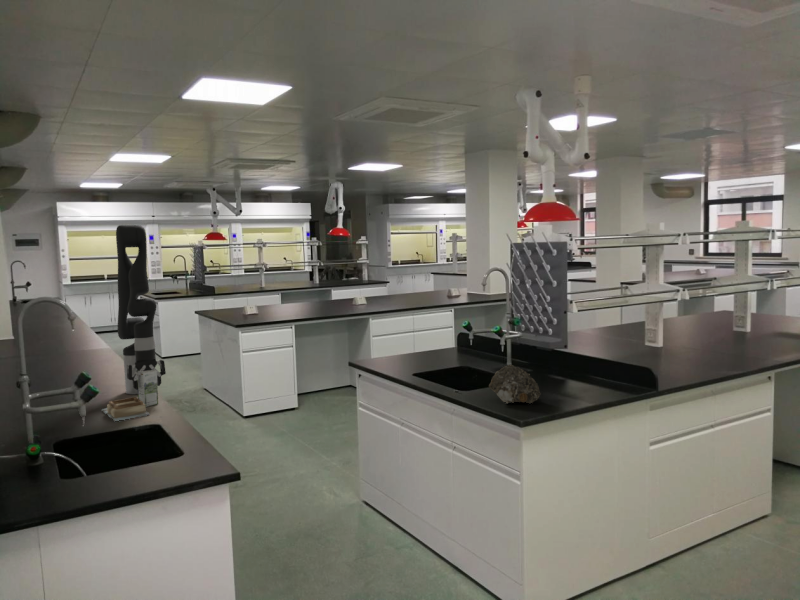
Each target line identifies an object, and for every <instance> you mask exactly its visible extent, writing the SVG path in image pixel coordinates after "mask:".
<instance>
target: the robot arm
mask: <svg viewBox="0 0 800 600" xmlns="http://www.w3.org/2000/svg"><path fill="white" fill-rule="evenodd" d="M115 237H116V238H115V239H116V252H117V298H118V313H117V335H118V338H119V340H123V341H124V340H134V341H133V343H132V344H129V345H128V346H125V347H124V348H123V349H122V354H123V355H122V358H123V367H124V368H123V370H124V371H123V372H124V386H125V394H126V395H138V381H137V379H138V377H139V376H140V375H141V372H143V371H147V370H157V368H156V366H157V365H158V366H159V367H160V368H159V369H160V372H159V371H158V370H157V387H160V386H161V384H162V376H163V375H166V374H167V373H166V366H165V360H163V359H159V360H156V344H155V343H156V342H155V337H154V319H155V316H156V311H157V302H156V301H155V299H153V298H151V297H150V298H139V297H140V296H144V295H146V294H148V293H149V291H150V287H149V286H150V285H149V278H148V268H147V262H148V261H147V259H148V256H147V251H148V249H147V244H148V243H147V233H146V229H145V227H144V226H143V225H142V224H141V225H140V224H119V225H117V227H116V230H115ZM126 248H138V251H137V255H136V258H135V260H134V261H133V262H132V260H131V259H130V257H129V255H128V254H127V251H126ZM128 315H129V316H130V317H128ZM143 317H146V319H144V318H143ZM138 371H139V372H138Z"/></svg>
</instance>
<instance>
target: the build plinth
mask: <svg viewBox="0 0 800 600" xmlns="http://www.w3.org/2000/svg"><path fill="white" fill-rule="evenodd" d="M146 409H147V407H146V406H145V404H144V403H143V401H141V400H140V399H138V397H137V396H133V397H127V398H123V399H115V400H109V401H108V404H106V408H102V409H101V412H102V411H103V413H104V414H105V415H106V414H107V415H108V416H107V415H106V416H107V417H109V418H110V417H111V418H112V419H113V420H112V419H111V418H110V419H111V420H112V421H114V420H115V421H119V420H124V421H126V420H125V419H129V420H131V419H130V418H134V419H136V418H135V417H139V418H142V417H141V416H144V417H148V416H147V415H149V416H150V412H148V411H147V410H146ZM115 421H114V422H115ZM119 422H120V421H119Z"/></svg>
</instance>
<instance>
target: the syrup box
mask: <svg viewBox="0 0 800 600" xmlns="http://www.w3.org/2000/svg"><path fill="white" fill-rule="evenodd" d="M157 371H158V369H156V370H147V371H143V372H141V375H140V376H139V377H138V379H137V381H138V394H137V398H138V399H140V400H141V401H143V403H144V404H145V406H146V408H148V407H152V406H156V405H159V393H158V387H159V386H157ZM138 372H139V371H138Z"/></svg>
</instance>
